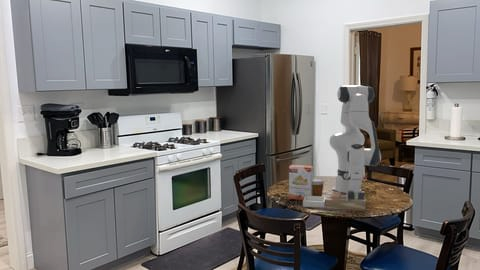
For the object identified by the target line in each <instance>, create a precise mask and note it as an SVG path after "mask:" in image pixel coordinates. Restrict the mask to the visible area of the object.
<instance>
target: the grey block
mask: <svg viewBox="0 0 480 270" xmlns="http://www.w3.org/2000/svg"><path fill="white" fill-rule="evenodd" d="M345 195H346V201H348V199H355V193H353V191H348V190H346V193H345ZM365 195H366V194H365V191H362V190H361V191H360V193H358V199H363V200H364V199H365V200H366V196H365Z"/></svg>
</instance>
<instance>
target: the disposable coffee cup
mask: <svg viewBox="0 0 480 270" xmlns="http://www.w3.org/2000/svg"><path fill="white" fill-rule="evenodd" d="M324 184H325V181H324V178H320V177H319V178H316V177H315V178H314V177H313V181H312V194H313V196H323V191H324Z"/></svg>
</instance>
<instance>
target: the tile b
mask: <svg viewBox="0 0 480 270" xmlns="http://www.w3.org/2000/svg"><path fill="white" fill-rule="evenodd" d="M332 199H333V200H340V194H333V193H332Z"/></svg>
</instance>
